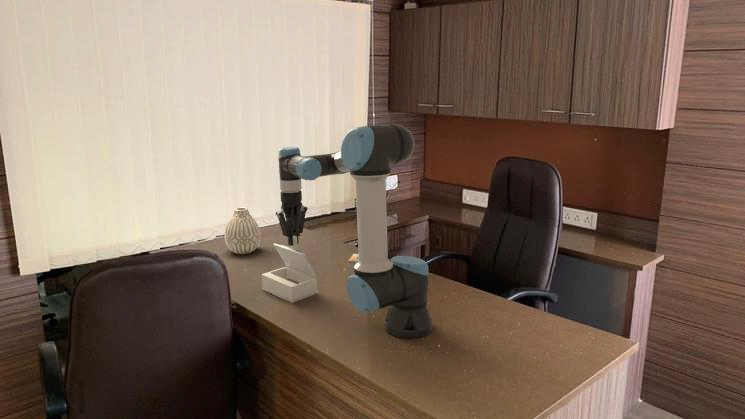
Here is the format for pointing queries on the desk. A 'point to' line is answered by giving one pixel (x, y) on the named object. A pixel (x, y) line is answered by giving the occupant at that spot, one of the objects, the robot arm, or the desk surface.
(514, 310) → the desk surface
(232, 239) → the vase
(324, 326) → the desk surface
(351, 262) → the supplement box
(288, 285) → the open white tray
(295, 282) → the plug block
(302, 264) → the cover
